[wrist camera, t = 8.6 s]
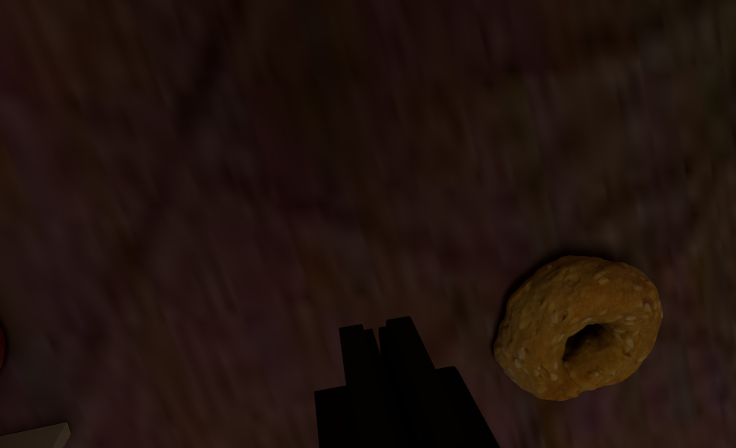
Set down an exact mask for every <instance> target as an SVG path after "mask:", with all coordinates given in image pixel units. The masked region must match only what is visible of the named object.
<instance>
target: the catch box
mask: <svg viewBox="0 0 736 448" xmlns="http://www.w3.org/2000/svg"><path fill="white" fill-rule="evenodd" d="M70 434H71V432H70V429H69V426H68V424H67V422H65V423H60V424H56V425H51V426H46V427H41V428H37V429H32V430H27V431H23V432H18V433H13V434H8V435H4V436H0V448H63V447H64V445H65V443H66V441H67V440H68V438H69V436H70Z"/></svg>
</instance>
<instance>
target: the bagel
mask: <svg viewBox="0 0 736 448" xmlns="http://www.w3.org/2000/svg"><path fill="white" fill-rule="evenodd" d="M662 317H663V312H662V308H661V302H660V300H659V295H658V293H657V289H656V287H655V286H654V284H653V282H652V281H651V280H650V279H649V278H648V277H647V276H646V275H645V274H644V273H643V272H641V271H640V270H638V269H637V268H635V267H633V266H631V265H628V264H626V263H624V262H611V261H608V260H604V259H602V258H598V257H595V256H593V257H587V256H573V255H569V256H564V257H561V258H559V259H557V260H555V261H553V262H551V263H548V264H546V265H544V266H543V267H541V268H540V269H538V270H537V271H536V272H535V273H534V274H533V275H532V276H531V277H529V278H528V279H527V280H525V281H524V282H523V284H522V285H521V286H520V287H519V288H518V289H517V290H516V291H515V292H514V293H513V294H512V295H511V296H510V297H509V299H508V301H507V304H506V315H505V318H504V319H503V321H502V322H501V323H500V326H499V331H498V336H497V339H496V340H495V342H494V345H493V346H494V356H495V359H496V361H497V362H498V363H499V365H500V366H501V367H502V368H503V369H504V372H505V374H506V375H508V376H509V377H510V378H511V380H512V381H514V382H515V383H516V384H517V385H518V386H519V387H521V388H522V389H523V390H525V391H527V392H530V393H532V394H533V395H535V396H536V397H538V398H540V399H547V400H558V401H564V400H568V399H570V398H575V397H578V394H579V393H581V392H583V391H584V390H595V389H596V388H599V387H602V386H605V385H613V384H615V383H618V382H621V381H623V380H625V379H626V378H627V377H629V376H630V375H631V374H632V373H634V372H635V371H636V370H637V368H638V367H639V366H640V365H641V363H642V362H643V360H644V359H645V358H646V357H647V355H648V354H649V353H650V352H651V350H652V348H653V346H654V344H655V340H656V337H657V333H658V330H659V327H660V325H661V321H662ZM588 324H591V325H589V326H587V327H585V326H586V325H588ZM584 327H585V328H584Z"/></svg>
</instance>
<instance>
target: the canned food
mask: <svg viewBox="0 0 736 448" xmlns="http://www.w3.org/2000/svg"><path fill="white" fill-rule="evenodd" d="M5 345H6V343H5V338H4V334H3V331H2V329H1V327H0V371H1V367H2V364H3V361H4V357H5Z"/></svg>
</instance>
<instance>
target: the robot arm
mask: <svg viewBox="0 0 736 448" xmlns="http://www.w3.org/2000/svg"><path fill="white" fill-rule="evenodd" d="M339 333H340V341H341V349H342V357H343V365H344V373H345V380H346V386H341V387H336V388H330V389H325V390H319V391H314V394H315V405H316V416H317V427H318V438H319V448H500V447H499V445H498V443H497V441H496V439H495V437H494V436H493V434H492V432H491V430H490V428H489V427H488V425H487V423H486V421H485V419H484V417H483V416H482V414H481V412H480V410H479V408H478V406H477V405H476V403H475V401H474V399H473V397H472V395H471V394H470V392H469V390H468V388H467V386H466V384H465V383H464V381H463V379H462V377H461V375H460V373H459V372H458V370H457V369H456V367H454V366H451V367H445V368H440V369H435V367H434V365H433V363H432V361H431V359H430V357H429V355H428V353H427V351H426V348H425V346H424V344H423V342H422V340H421V338H420V336H419V334H418V332H417V330H416V328H415V326H414V323H413V321H412V319H411V318H410V316H407V317H401V318H395V319H389V320H387V321H386V326H385V327H379V341H380V351H381V355H380V352H379V349H378V345H377V342H376V339H375V336H374V333H373V330H372V329H368V330H364V329H363V325H362V324H360V325H354V326H348V327H342V328H339Z"/></svg>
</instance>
